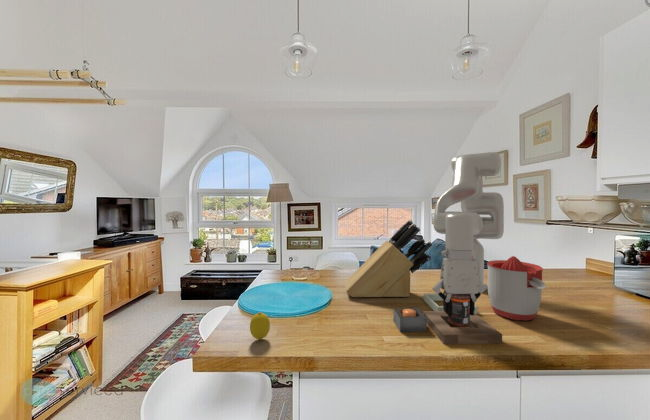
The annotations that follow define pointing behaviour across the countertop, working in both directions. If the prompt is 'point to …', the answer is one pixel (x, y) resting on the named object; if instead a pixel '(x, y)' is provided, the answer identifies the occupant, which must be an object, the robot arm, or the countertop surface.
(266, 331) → the lemon
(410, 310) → the button
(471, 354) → the countertop surface
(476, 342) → the square frame
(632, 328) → the countertop surface
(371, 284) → the knife block
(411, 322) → the button housing
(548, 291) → the countertop surface
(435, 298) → the ring
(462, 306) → the supplement bottle
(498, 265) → the citrus juicer
